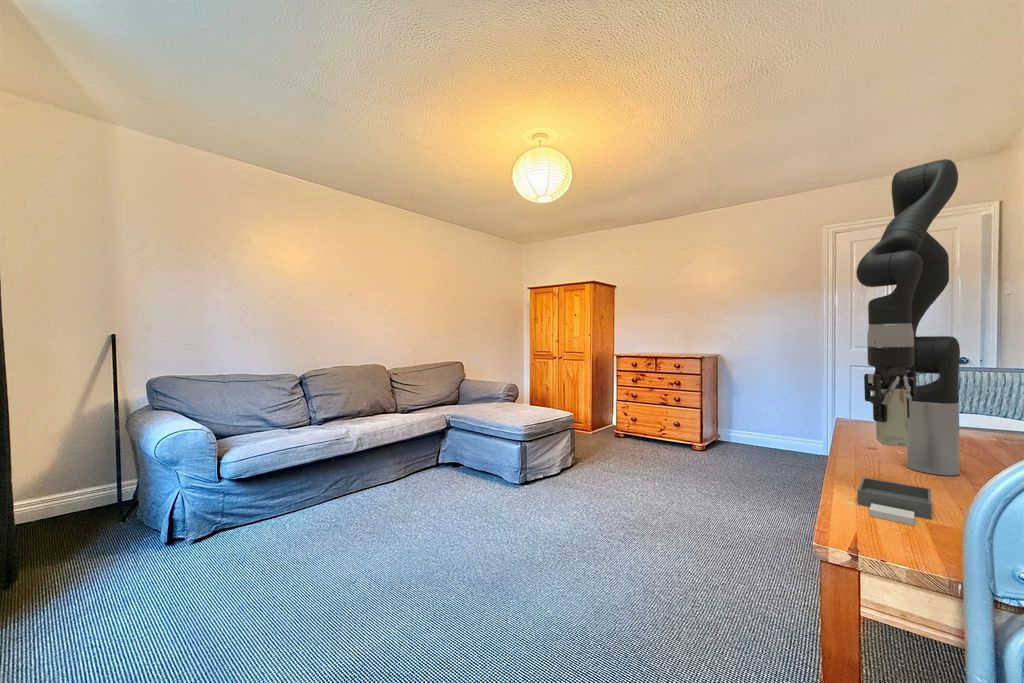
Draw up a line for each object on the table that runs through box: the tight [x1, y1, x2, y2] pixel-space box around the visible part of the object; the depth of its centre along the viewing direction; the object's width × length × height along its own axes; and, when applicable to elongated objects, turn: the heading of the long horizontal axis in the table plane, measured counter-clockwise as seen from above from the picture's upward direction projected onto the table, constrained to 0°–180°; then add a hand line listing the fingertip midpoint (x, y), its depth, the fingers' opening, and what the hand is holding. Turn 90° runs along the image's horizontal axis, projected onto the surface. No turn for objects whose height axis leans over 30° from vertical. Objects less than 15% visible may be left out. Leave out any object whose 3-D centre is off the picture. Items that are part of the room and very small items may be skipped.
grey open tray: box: [857, 477, 932, 526], centre depth 81 cm, size 16×10×3 cm, turn 135°
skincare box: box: [875, 389, 908, 448], centre depth 91 cm, size 6×4×12 cm
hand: (891, 419), depth 91 cm, fingers closed on skincare box, 7 cm apart
